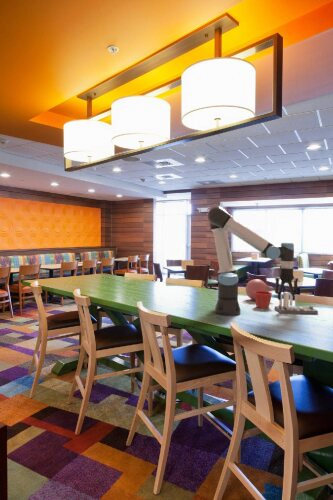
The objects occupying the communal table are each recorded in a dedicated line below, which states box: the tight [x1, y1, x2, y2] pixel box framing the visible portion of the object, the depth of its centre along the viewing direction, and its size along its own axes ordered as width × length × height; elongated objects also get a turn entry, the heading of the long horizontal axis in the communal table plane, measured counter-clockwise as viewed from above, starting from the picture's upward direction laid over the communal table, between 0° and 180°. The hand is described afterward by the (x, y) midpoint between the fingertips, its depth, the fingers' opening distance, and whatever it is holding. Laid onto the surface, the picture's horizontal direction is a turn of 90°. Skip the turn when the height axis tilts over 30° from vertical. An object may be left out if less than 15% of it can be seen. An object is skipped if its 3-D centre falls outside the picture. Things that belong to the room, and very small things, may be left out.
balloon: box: [245, 278, 275, 301], centre depth 240 cm, size 15×20×15 cm
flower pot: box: [254, 291, 273, 309], centre depth 217 cm, size 11×11×10 cm
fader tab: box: [282, 291, 290, 308], centre depth 204 cm, size 3×4×10 cm
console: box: [274, 304, 319, 315], centre depth 204 cm, size 22×12×4 cm, turn 89°
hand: (285, 305), depth 204 cm, fingers open, 6 cm apart
